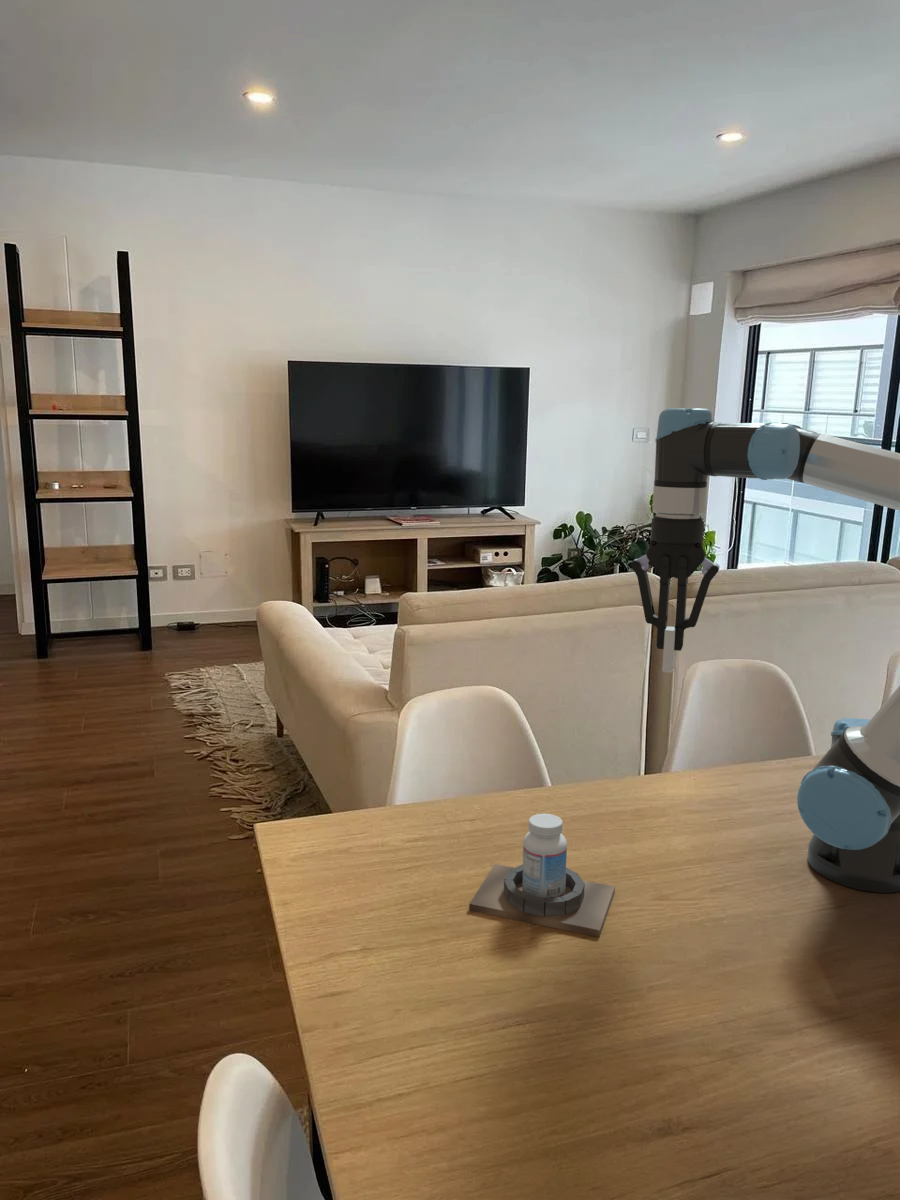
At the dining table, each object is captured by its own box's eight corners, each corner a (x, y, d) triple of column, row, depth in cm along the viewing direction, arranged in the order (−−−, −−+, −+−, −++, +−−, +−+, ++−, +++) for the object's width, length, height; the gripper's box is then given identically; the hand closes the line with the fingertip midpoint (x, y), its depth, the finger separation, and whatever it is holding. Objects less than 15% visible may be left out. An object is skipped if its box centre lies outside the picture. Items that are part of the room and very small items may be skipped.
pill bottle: (564, 885, 127) (567, 812, 124) (565, 907, 121) (569, 831, 119) (521, 882, 127) (524, 809, 125) (521, 904, 121) (523, 828, 119)
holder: (614, 892, 127) (615, 873, 126) (599, 937, 116) (600, 916, 115) (494, 870, 133) (495, 851, 132) (469, 910, 122) (469, 890, 121)
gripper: (725, 515, 131) (714, 668, 136) (637, 511, 135) (628, 659, 140) (723, 520, 124) (710, 681, 129) (629, 515, 129) (621, 671, 133)
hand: (668, 670), depth 134 cm, fingers closed
